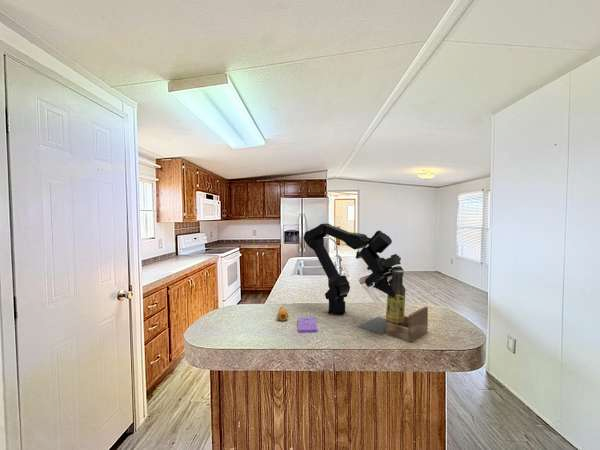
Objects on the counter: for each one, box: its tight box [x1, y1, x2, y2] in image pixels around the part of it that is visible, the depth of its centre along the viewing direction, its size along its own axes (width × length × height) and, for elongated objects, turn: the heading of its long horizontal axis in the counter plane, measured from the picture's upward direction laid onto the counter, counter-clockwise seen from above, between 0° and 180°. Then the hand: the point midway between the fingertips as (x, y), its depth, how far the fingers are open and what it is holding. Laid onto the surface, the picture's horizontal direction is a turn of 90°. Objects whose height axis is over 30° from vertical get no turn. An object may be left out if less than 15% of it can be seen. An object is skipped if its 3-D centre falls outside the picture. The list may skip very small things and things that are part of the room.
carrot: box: [277, 305, 289, 321], centre depth 129 cm, size 20×4×4 cm, turn 5°
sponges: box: [297, 316, 319, 334], centre depth 115 cm, size 7×13×2 cm, turn 1°
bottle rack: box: [385, 306, 429, 343], centre depth 107 cm, size 10×12×9 cm
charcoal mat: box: [357, 316, 386, 335], centre depth 115 cm, size 10×14×1 cm
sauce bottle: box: [385, 270, 406, 326], centre depth 110 cm, size 6×6×20 cm
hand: (399, 295), depth 108 cm, fingers closed on sauce bottle, 6 cm apart
